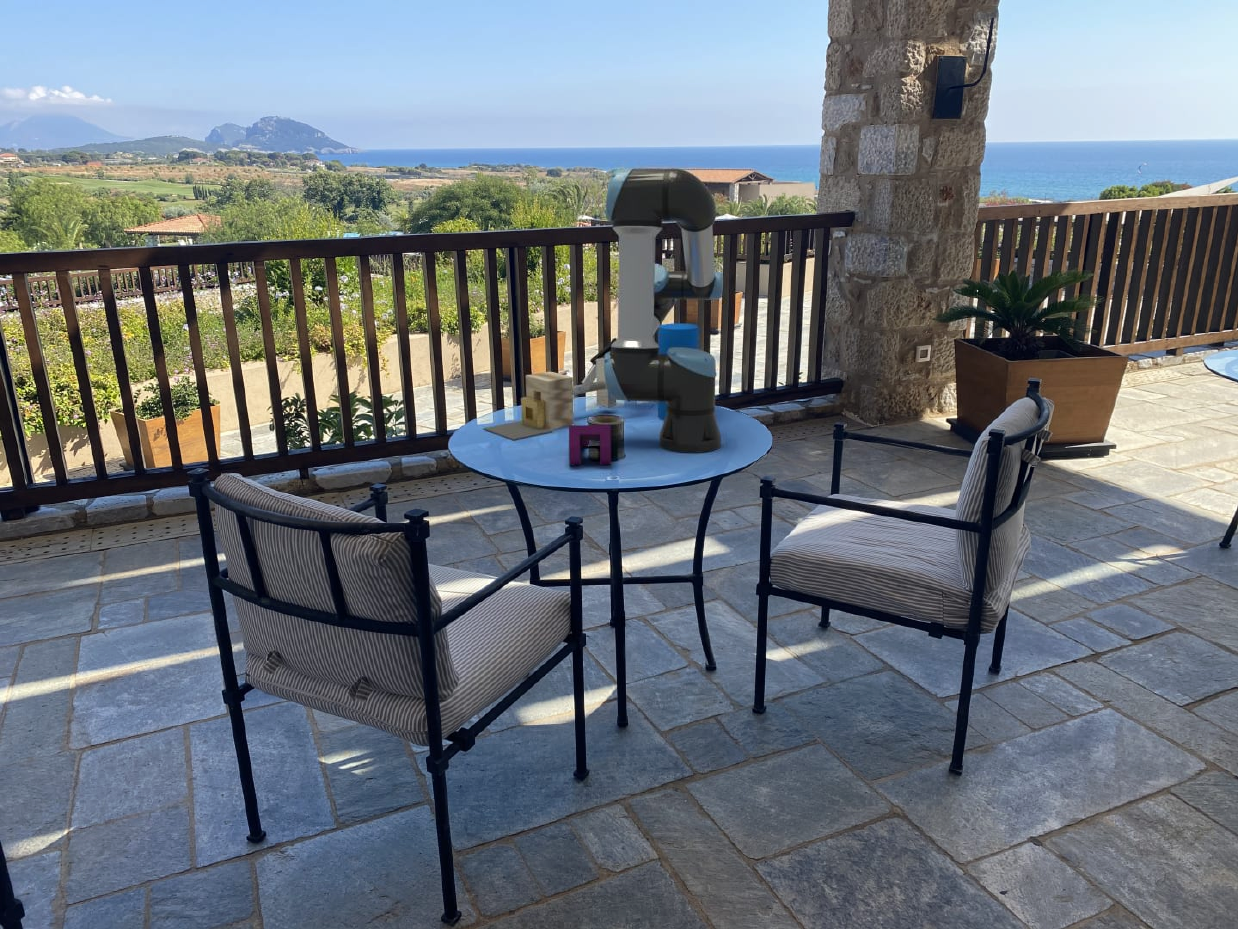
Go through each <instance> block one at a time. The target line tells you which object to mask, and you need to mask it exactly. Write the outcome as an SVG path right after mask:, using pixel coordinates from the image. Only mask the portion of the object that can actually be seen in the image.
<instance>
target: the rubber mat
mask: <svg viewBox="0 0 1238 929" xmlns="http://www.w3.org/2000/svg"><path fill="white" fill-rule="evenodd" d="M483 430H484V431H486V432H489V433H492V434H494V435H497V436H499V437H503V438H505V439H508V440H510V441H513V442H515V441H518V440H525V439H528V438H533V437H537V436H541V435H546V434H551V433H553V430H548V429H545V428H543V429H538V430H537V429H534V428H531V427H529V426H526V425H523V424H522V419H521V420H516V421H513V422H508V423H503V424H497V425H493V426H487V427H483Z"/></svg>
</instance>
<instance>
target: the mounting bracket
mask: <svg viewBox="0 0 1238 929" xmlns="http://www.w3.org/2000/svg"><path fill="white" fill-rule="evenodd" d="M611 431H612V430H611V424H583V425H580V424H579V425H577V424H575V425H569V426H568V459H569V460H568V461H569V462H568V463H569V466H581V454H582V453H581V451H582V450H581V448H589V447H588V445H589V440H594V441H600V447H599V452H600V453H599V455H600V458H599V459H600V462H599V463H600V466H606V465H607V466H608V465H609V466H611V465H612V447H611V446H612V443H611V442H612V441H611V440H612V435H611V433H612V432H611Z"/></svg>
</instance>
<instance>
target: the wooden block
mask: <svg viewBox="0 0 1238 929" xmlns="http://www.w3.org/2000/svg"><path fill="white" fill-rule="evenodd" d="M573 380H574V378H573V376H569V375H566V374H561V373H557V372H553V371H543V372H539V373H533V374H526V375H525V390H526V392H525V393H526V394H525V395H526V396H525V397H528V396H529V397H532V398H535V399H539V400H542V401H544V406H545V429H548V430H551V431H553V430H558V429H561V428H562V427H563V428H566V427H565V426H568V427H569V425H572V424H575V421H574V395H573V386H574V381H573ZM563 428H562V429H563Z"/></svg>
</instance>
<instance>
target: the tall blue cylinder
mask: <svg viewBox="0 0 1238 929" xmlns="http://www.w3.org/2000/svg"><path fill="white" fill-rule="evenodd" d="M699 335H700V331H699V326H698V325H697V324H692V323H665V324H661V325H660V326H659V327H658V332H657V344H658V345H659V354H667V351H668V349H669V348H673V347H678V348H680V347H684V348H692V349H697V350H699V343H700V342H699V338H700V336H699ZM666 414H667V402H657V418H658V417H659V418H660V419H659V418H658V419H659V420H661V419H662V420H661V421H663V420H665V417H666Z"/></svg>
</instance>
